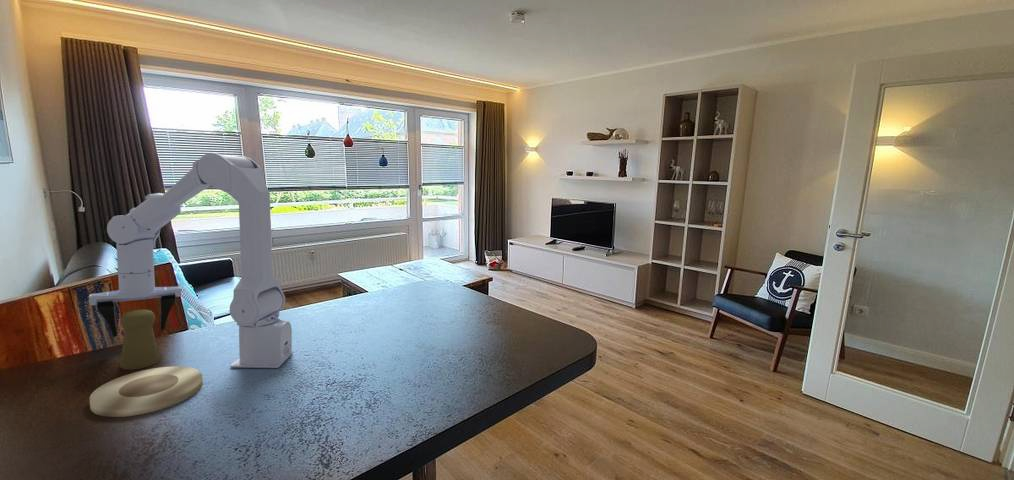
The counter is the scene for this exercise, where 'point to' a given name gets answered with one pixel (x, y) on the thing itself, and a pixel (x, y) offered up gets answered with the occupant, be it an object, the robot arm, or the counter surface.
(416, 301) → the counter surface
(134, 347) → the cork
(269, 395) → the counter surface
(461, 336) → the counter surface
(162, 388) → the birch stand
